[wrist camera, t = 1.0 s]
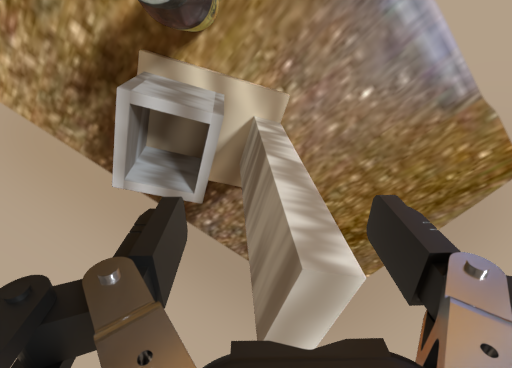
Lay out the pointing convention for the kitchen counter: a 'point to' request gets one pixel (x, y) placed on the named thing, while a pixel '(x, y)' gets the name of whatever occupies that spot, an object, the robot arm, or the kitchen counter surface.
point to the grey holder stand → (242, 175)
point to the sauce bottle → (183, 13)
